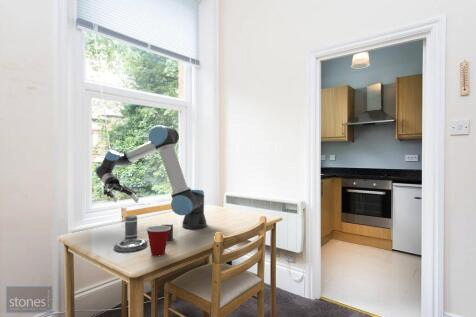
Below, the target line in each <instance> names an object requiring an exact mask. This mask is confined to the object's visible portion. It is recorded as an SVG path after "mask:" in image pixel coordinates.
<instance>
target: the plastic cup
mask: <svg viewBox="0 0 476 317" xmlns="http://www.w3.org/2000/svg"><path fill="white" fill-rule="evenodd" d="M145 229H146V230H145V231H146V232H147V237H148V241H149V242H148V243H149V248H150V253H151V256H153V257H159V255H160V256H163V255H165V254H164V253H165V252H166V247H167V244H168V241H167V239H168V234H169V231H170V229H171V227H168V226H161V225H152V226H148V227H146V228H145Z"/></svg>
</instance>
